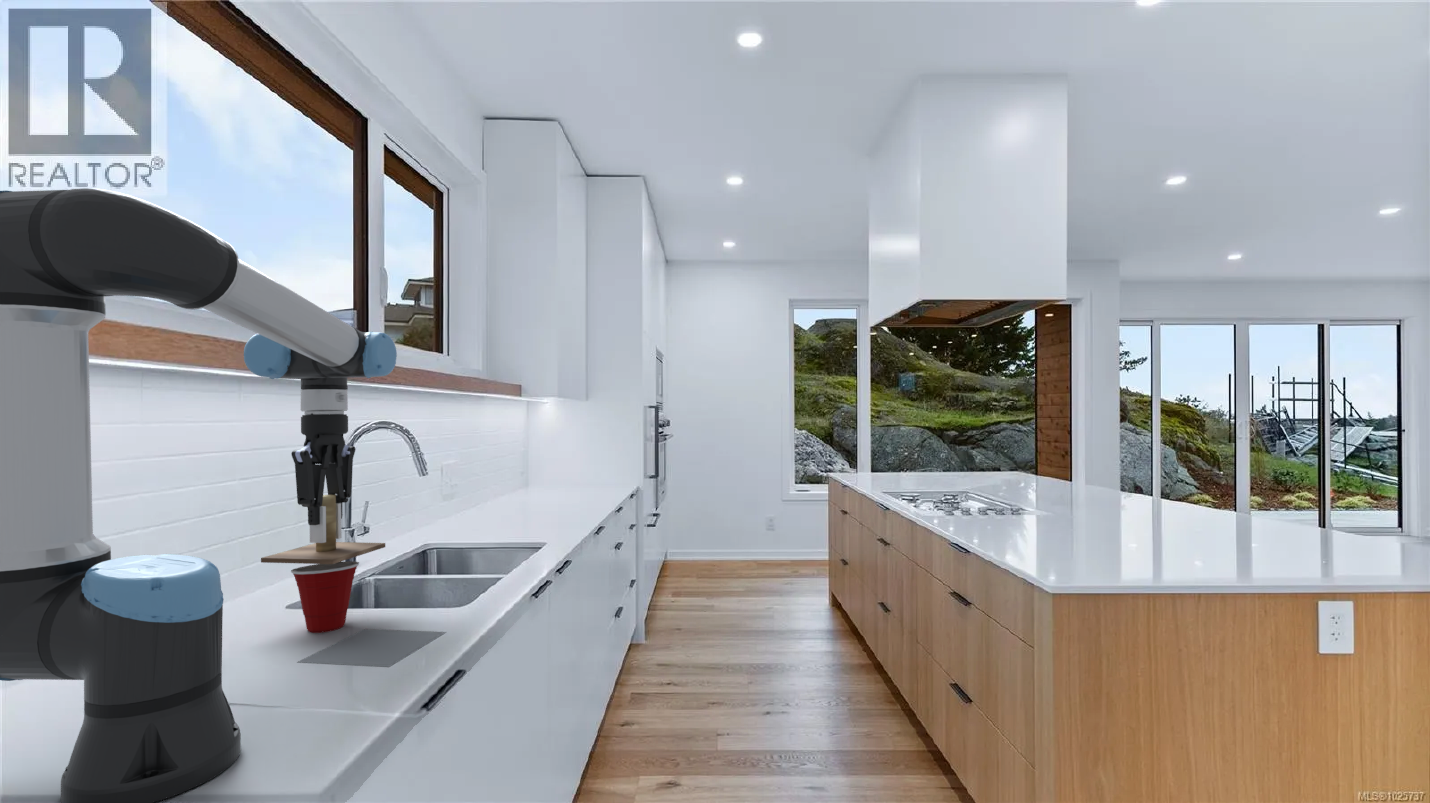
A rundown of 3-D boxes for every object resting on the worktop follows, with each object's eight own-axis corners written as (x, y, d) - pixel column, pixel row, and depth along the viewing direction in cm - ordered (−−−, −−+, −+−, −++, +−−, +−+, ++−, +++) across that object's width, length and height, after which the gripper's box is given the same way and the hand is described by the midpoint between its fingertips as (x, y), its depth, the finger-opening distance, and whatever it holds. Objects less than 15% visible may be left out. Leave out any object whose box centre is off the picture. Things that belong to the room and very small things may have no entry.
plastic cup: (357, 616, 128) (357, 554, 128) (362, 631, 119) (361, 565, 119) (291, 626, 122) (291, 562, 123) (290, 643, 113) (290, 574, 113)
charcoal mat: (388, 669, 101) (388, 666, 101) (296, 664, 104) (296, 662, 104) (446, 634, 117) (446, 631, 117) (365, 630, 120) (365, 628, 120)
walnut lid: (332, 564, 113) (332, 501, 113) (260, 562, 115) (260, 500, 115) (385, 547, 127) (384, 491, 127) (320, 545, 129) (320, 490, 129)
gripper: (309, 413, 113) (310, 550, 112) (372, 412, 129) (373, 532, 129) (270, 413, 114) (271, 549, 114) (338, 413, 130) (339, 531, 130)
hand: (325, 539), depth 121 cm, fingers closed on walnut lid, 3 cm apart
